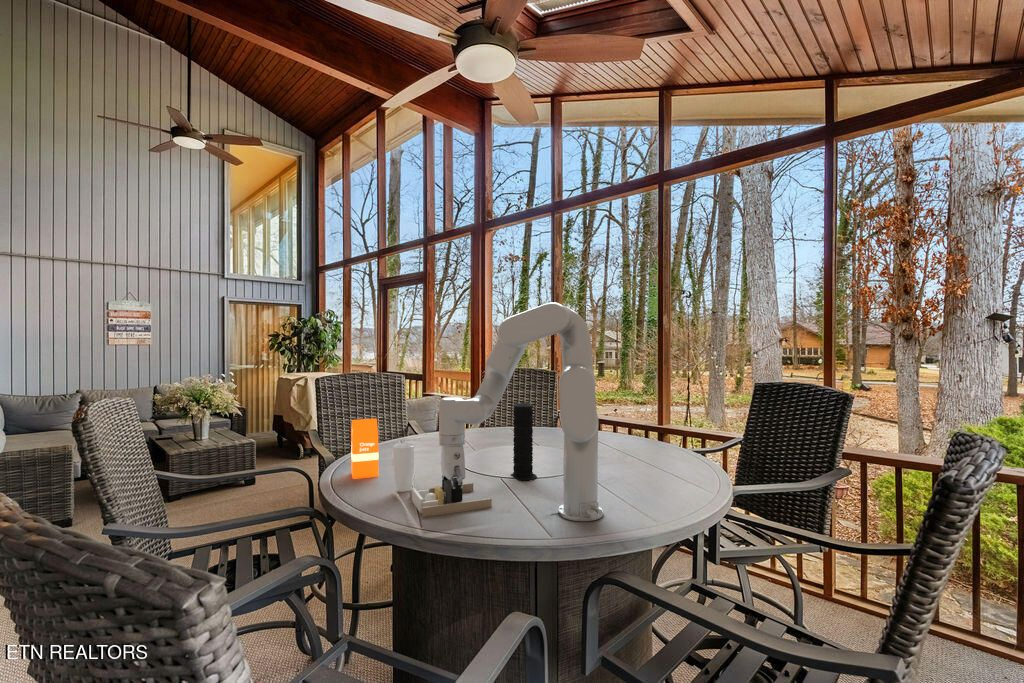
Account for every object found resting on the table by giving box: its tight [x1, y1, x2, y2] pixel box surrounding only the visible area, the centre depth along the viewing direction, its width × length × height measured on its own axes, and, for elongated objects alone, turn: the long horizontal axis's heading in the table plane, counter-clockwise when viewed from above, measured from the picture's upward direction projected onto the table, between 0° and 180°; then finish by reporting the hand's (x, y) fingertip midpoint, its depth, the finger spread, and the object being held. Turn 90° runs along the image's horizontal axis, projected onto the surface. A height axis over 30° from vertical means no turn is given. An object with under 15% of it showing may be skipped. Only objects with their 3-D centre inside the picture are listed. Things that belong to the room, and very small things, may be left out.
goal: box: [411, 487, 438, 514], centre depth 146 cm, size 11×5×4 cm, turn 23°
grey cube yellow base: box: [434, 480, 458, 505], centre depth 149 cm, size 5×7×6 cm
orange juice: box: [350, 418, 380, 480], centre depth 181 cm, size 8×9×20 cm
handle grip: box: [510, 402, 538, 482], centre depth 178 cm, size 10×26×10 cm
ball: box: [423, 493, 437, 502], centre depth 147 cm, size 4×4×4 cm
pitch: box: [409, 482, 493, 518], centre depth 149 cm, size 17×20×3 cm
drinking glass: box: [392, 442, 415, 494], centre depth 162 cm, size 7×7×15 cm
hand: (452, 496), depth 150 cm, fingers open, 9 cm apart
